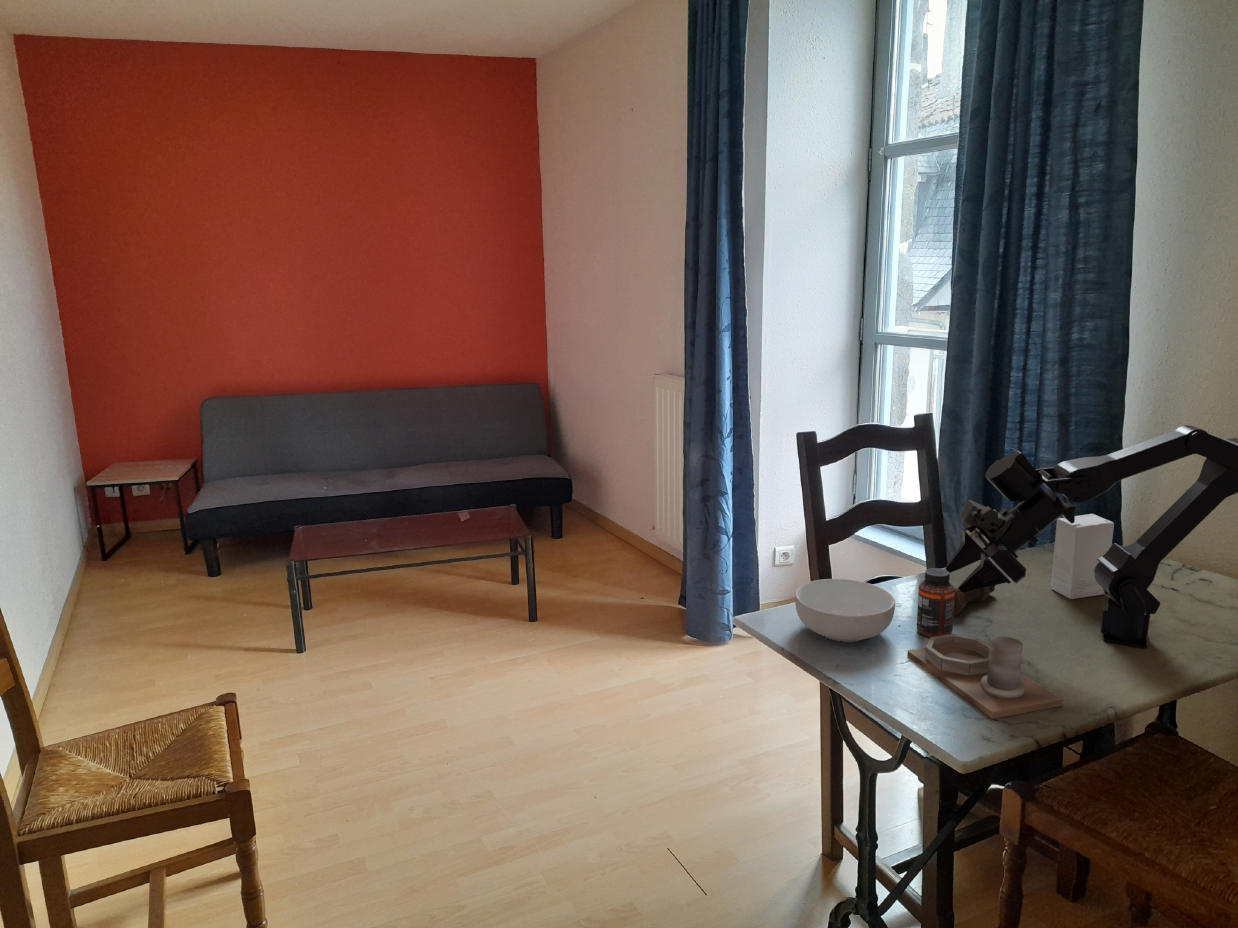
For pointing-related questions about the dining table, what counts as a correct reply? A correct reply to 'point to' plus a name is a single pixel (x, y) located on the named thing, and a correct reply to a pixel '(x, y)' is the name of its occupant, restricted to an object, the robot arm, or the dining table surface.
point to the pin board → (985, 673)
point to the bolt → (970, 597)
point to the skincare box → (1079, 555)
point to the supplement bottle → (935, 604)
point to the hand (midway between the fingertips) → (953, 580)
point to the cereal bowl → (844, 608)
